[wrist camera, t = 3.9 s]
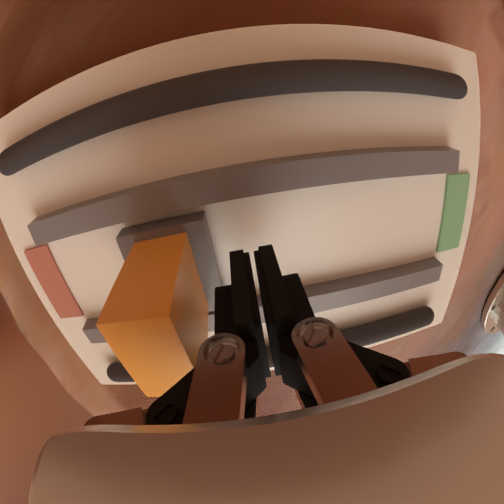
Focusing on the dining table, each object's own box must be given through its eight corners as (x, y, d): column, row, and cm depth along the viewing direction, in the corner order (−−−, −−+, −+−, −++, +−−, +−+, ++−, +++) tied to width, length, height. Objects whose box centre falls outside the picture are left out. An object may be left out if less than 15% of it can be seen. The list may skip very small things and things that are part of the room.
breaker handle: (204, 210, 12) (193, 300, 7) (226, 296, 15) (230, 396, 10) (122, 228, 12) (69, 316, 7) (154, 307, 15) (133, 402, 9)
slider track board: (444, 53, 11) (487, 53, 8) (424, 300, 21) (447, 330, 18) (6, 127, 11) (-35, 141, 8) (109, 357, 21) (99, 394, 18)
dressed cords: (454, 75, 10) (471, 76, 8) (425, 314, 18) (434, 326, 17) (6, 150, 9) (-11, 157, 8) (114, 370, 18) (110, 385, 17)
